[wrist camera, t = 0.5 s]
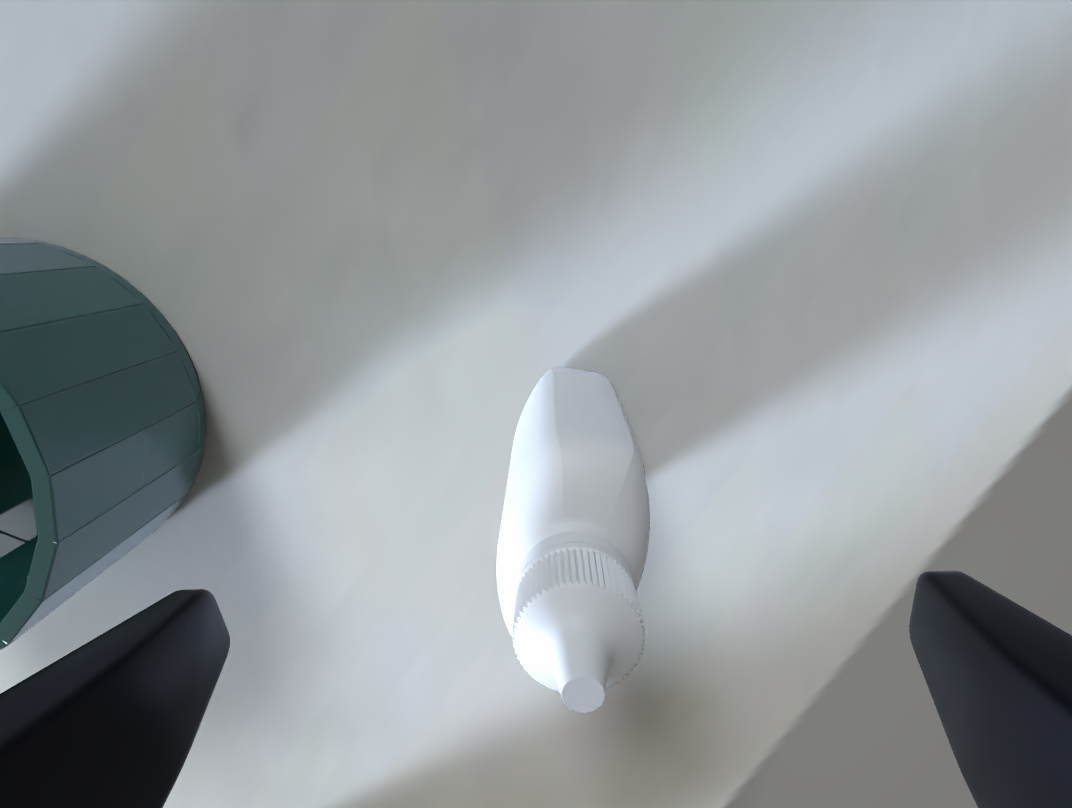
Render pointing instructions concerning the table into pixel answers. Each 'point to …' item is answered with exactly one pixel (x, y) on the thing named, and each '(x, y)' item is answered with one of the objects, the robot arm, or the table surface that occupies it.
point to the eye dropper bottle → (574, 538)
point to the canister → (84, 425)
